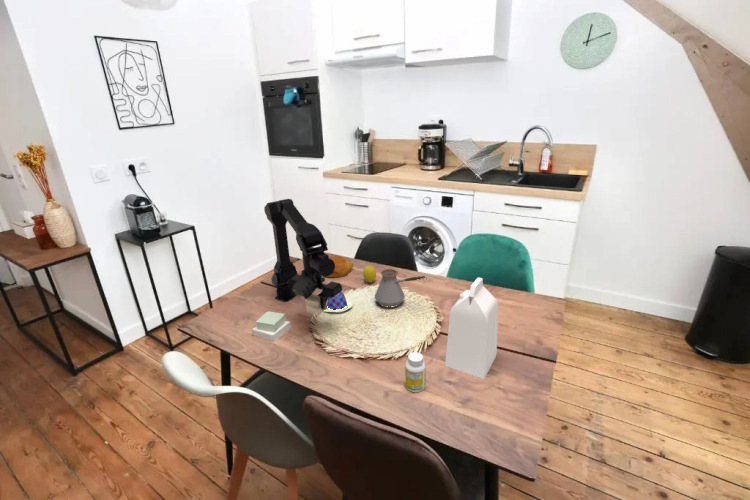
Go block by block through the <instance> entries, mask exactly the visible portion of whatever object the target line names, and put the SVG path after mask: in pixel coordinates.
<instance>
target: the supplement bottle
mask: <svg viewBox="0 0 750 500" xmlns="http://www.w3.org/2000/svg"><path fill="white" fill-rule="evenodd" d="M407 356H408V357H407V361H406V362H405V374H404V375H405V376H404V377H405V387H406V389H407V390H409V392H413V393H420V392H422V391H423V390H425V387H426V369H427V368H426V363H425V361H424V355H423V354H422V353H420V352H416V351H413V352H410V353H409V354H408V355H407Z"/></svg>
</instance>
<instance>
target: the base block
mask: <svg viewBox="0 0 750 500" xmlns="http://www.w3.org/2000/svg"><path fill="white" fill-rule="evenodd" d="M291 324H292V323H291V321H288V320H286V322H285V323H284V324H283V325H282V326H281V327H280V328H279V329H278V330H277V331H276V332H269V331H264V330H258V329H257V326H255V327H253V328H251V331H252V336H255V337H258V338H261V339H264V340H265V341H266V340H267V341H270V342H276V341H277V340H278V339H279V338H280V337H282V336H283V335H284V334H286V333H287V332H288V331H289V330H291V328H292V325H291Z"/></svg>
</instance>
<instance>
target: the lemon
mask: <svg viewBox="0 0 750 500" xmlns="http://www.w3.org/2000/svg"><path fill="white" fill-rule="evenodd" d="M362 274H363V276H362V277H363V279H364V280H365V281H366V282H367V283H372V282H373V281H375V280H376V278H377V272H376V268H375V267H374V266H372V265H367V266H365V268H364V269H363V273H362Z"/></svg>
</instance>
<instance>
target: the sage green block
mask: <svg viewBox="0 0 750 500" xmlns="http://www.w3.org/2000/svg"><path fill="white" fill-rule="evenodd" d="M286 321H287V318H286V314H285V313H282V312H273V311H266V312H265V313H264V314H263V315H262V316H260V317H259V319H257V320H256V321H255V324H256V326H257V329H258V330H264V331H269V332H276V331H277V330H278V329H279V328H280V327H281V326H282V325H283V324H284V323H285V322H286ZM256 326H255V327H256Z"/></svg>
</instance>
